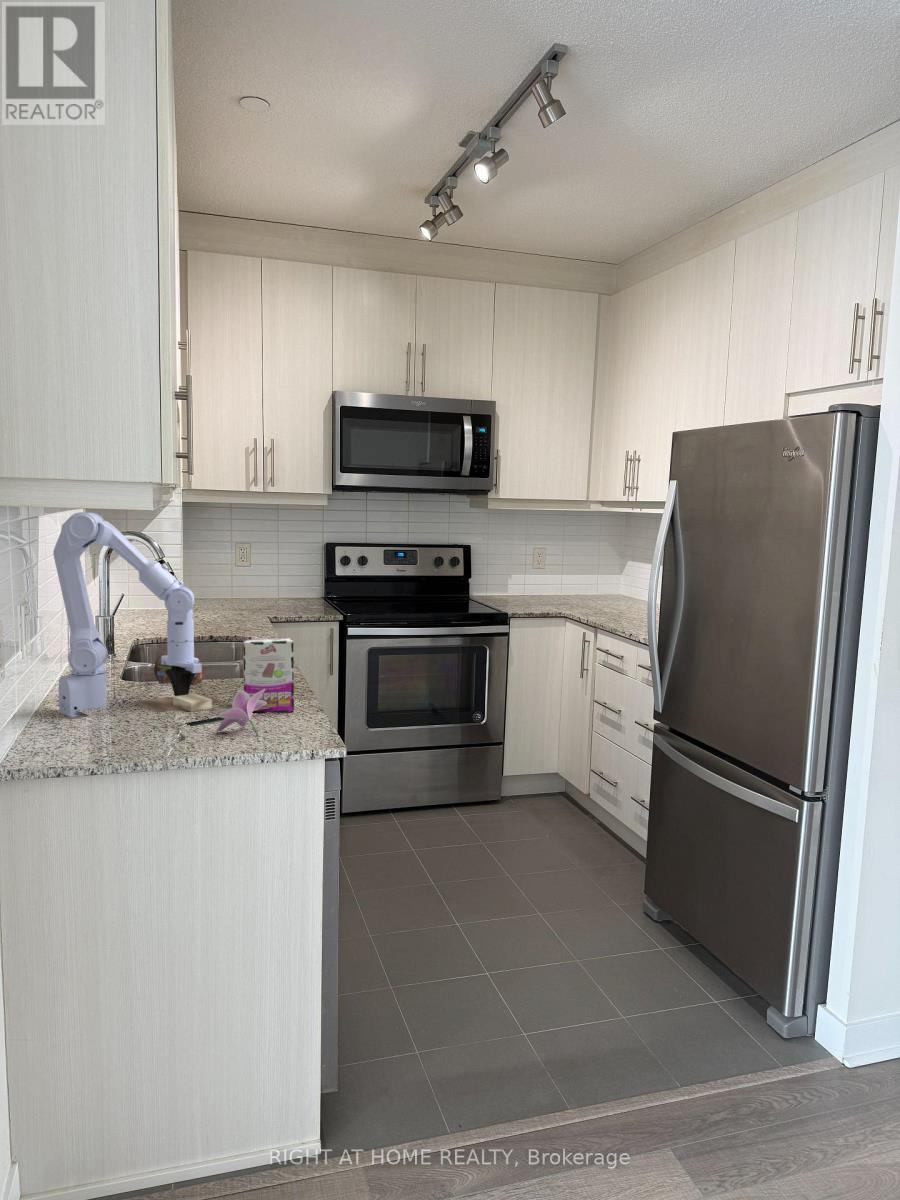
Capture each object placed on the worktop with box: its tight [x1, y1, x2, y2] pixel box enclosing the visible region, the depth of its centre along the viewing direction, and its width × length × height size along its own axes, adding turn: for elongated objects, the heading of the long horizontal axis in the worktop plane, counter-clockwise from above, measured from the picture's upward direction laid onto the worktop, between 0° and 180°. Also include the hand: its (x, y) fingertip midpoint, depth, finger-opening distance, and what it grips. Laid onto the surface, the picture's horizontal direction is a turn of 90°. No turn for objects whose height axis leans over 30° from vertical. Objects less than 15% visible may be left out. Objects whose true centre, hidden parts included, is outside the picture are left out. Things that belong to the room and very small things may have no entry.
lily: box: [216, 688, 267, 736], centre depth 170 cm, size 12×12×10 cm
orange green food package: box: [153, 653, 204, 686], centre depth 213 cm, size 15×3×8 cm, turn 62°
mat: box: [184, 716, 225, 727], centre depth 182 cm, size 12×11×1 cm
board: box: [133, 692, 225, 713], centre depth 190 cm, size 16×12×2 cm
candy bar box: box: [242, 637, 295, 714], centre depth 189 cm, size 11×5×16 cm, turn 105°
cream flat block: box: [172, 693, 213, 713], centre depth 186 cm, size 5×8×2 cm, turn 46°
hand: (181, 699), depth 189 cm, fingers closed
